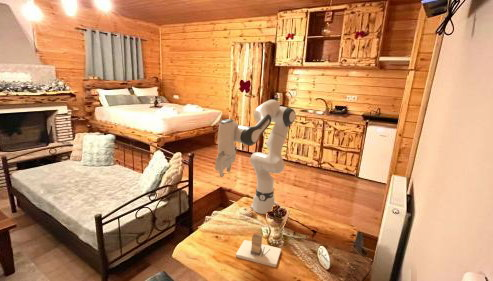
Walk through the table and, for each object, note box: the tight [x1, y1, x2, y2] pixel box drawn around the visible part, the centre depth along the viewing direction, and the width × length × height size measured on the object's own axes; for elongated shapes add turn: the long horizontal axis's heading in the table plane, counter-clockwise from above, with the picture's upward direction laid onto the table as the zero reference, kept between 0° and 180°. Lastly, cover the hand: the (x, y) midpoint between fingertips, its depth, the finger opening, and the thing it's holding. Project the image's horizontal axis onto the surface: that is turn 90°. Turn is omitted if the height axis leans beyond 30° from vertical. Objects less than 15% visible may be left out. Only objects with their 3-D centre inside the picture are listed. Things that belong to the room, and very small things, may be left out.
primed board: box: [235, 239, 282, 268], centre depth 128 cm, size 13×20×2 cm, turn 72°
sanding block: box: [250, 232, 263, 256], centre depth 126 cm, size 5×5×9 cm
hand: (225, 174), depth 141 cm, fingers open, 8 cm apart
